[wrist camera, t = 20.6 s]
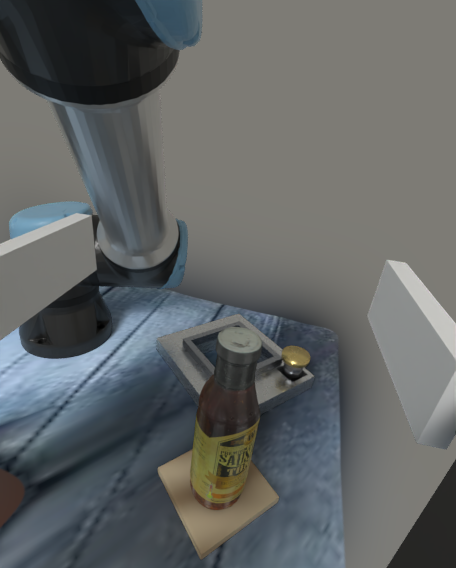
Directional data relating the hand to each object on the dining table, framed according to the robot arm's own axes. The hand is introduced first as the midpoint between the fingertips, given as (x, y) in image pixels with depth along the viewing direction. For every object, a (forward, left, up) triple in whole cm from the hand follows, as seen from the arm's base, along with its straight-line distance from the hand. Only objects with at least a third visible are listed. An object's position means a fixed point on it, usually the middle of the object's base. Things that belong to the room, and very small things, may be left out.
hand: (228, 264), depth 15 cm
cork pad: (-7, +7, -32) cm, 33 cm away
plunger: (-15, +26, -30) cm, 43 cm away
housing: (-23, +20, -32) cm, 44 cm away
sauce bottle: (-6, +7, -31) cm, 33 cm away
